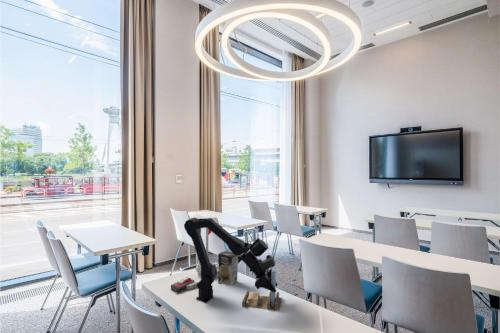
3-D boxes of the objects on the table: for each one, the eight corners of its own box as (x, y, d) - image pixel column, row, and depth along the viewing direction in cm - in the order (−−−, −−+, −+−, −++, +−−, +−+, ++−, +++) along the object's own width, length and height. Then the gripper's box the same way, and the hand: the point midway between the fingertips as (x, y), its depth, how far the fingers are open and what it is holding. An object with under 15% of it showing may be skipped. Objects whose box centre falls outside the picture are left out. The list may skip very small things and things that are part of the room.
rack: (241, 308, 122) (242, 301, 122) (247, 296, 134) (247, 289, 134) (280, 312, 119) (280, 304, 119) (281, 299, 131) (281, 292, 131)
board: (271, 306, 123) (271, 275, 123) (272, 299, 129) (272, 270, 129) (274, 306, 123) (274, 275, 123) (275, 300, 129) (275, 270, 129)
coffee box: (217, 283, 149) (217, 253, 149) (224, 279, 154) (224, 250, 155) (231, 287, 144) (231, 256, 144) (238, 282, 150) (238, 253, 150)
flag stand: (207, 280, 153) (208, 226, 153) (191, 275, 160) (191, 224, 160) (222, 272, 164) (222, 222, 164) (206, 268, 171) (206, 220, 171)
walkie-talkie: (179, 295, 135) (208, 282, 151) (179, 286, 135) (208, 274, 151) (168, 291, 140) (197, 278, 156) (168, 282, 140) (197, 270, 156)
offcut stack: (245, 304, 124) (245, 299, 124) (249, 296, 132) (249, 291, 132) (256, 305, 123) (256, 300, 123) (259, 297, 131) (259, 292, 131)
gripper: (262, 258, 118) (288, 285, 116) (267, 245, 136) (289, 269, 134) (244, 275, 119) (269, 302, 117) (251, 260, 137) (273, 284, 135)
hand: (276, 288), depth 126 cm, fingers closed on board, 6 cm apart
